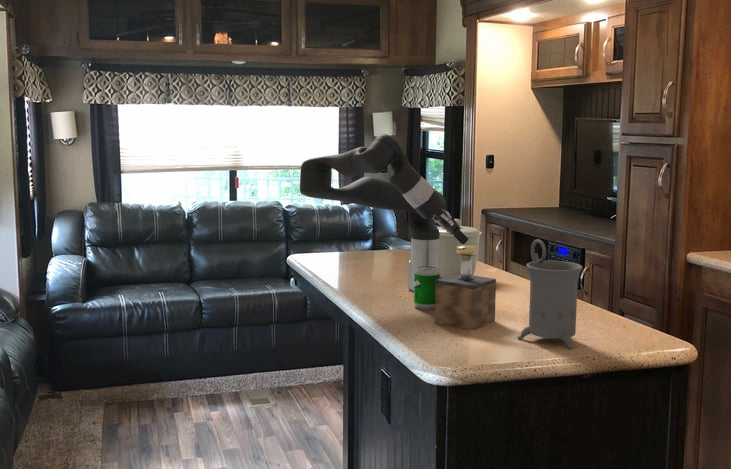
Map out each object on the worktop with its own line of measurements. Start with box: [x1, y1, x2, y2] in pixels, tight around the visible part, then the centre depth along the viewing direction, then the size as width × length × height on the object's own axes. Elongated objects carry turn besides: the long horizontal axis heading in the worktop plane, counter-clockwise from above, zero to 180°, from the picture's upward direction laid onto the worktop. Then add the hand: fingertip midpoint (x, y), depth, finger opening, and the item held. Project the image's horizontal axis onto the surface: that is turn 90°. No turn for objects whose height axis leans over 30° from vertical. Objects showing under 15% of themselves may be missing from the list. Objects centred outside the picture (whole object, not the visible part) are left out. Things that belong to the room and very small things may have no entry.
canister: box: [436, 218, 483, 279], centre depth 277 cm, size 18×18×21 cm
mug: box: [517, 238, 584, 350], centre depth 198 cm, size 19×15×25 cm
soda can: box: [413, 266, 441, 311], centre depth 233 cm, size 8×8×12 cm
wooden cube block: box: [434, 274, 497, 331], centre depth 216 cm, size 12×12×12 cm
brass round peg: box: [456, 245, 478, 281], centre depth 215 cm, size 6×6×12 cm
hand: (465, 241), depth 213 cm, fingers closed
